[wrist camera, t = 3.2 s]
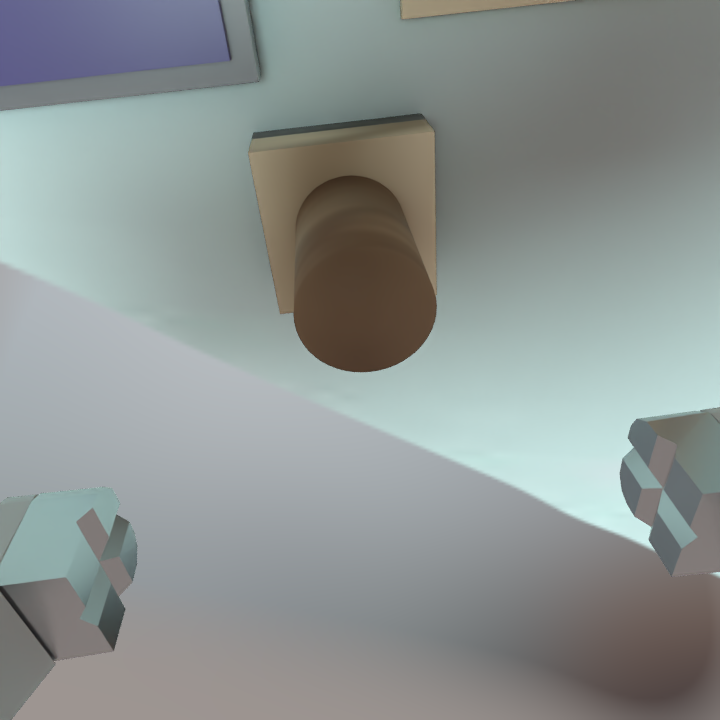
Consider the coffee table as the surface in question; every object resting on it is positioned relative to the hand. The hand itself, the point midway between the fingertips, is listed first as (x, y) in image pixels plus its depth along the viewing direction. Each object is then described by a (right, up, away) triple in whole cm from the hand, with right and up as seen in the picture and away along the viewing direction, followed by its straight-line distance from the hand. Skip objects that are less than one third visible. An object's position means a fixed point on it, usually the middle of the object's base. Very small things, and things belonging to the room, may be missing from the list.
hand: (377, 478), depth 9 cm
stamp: (-1, +7, +9) cm, 12 cm away
